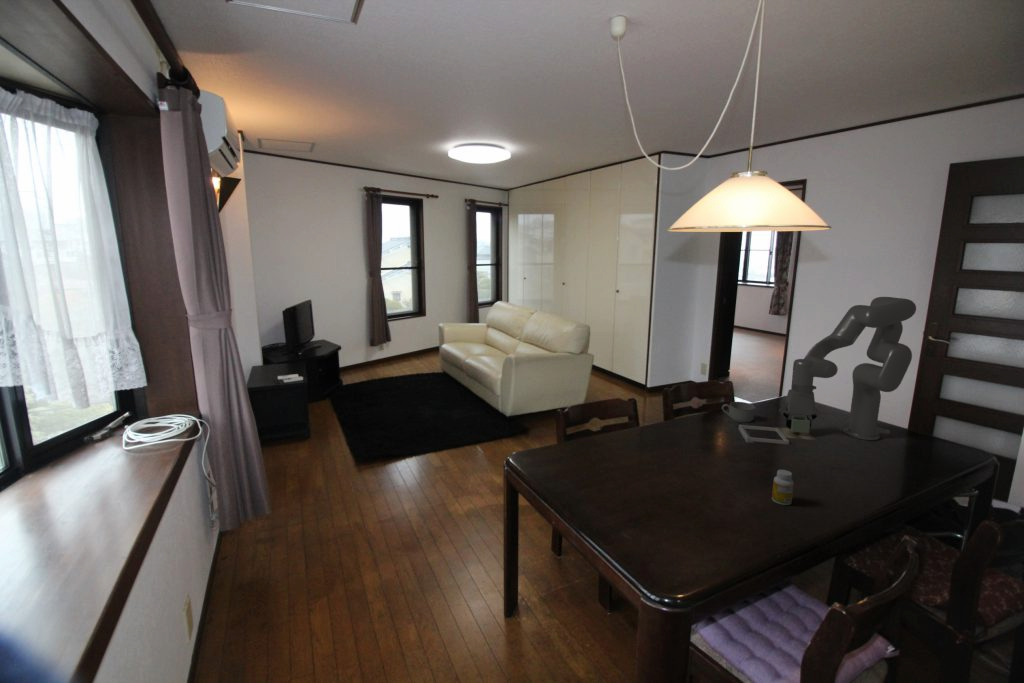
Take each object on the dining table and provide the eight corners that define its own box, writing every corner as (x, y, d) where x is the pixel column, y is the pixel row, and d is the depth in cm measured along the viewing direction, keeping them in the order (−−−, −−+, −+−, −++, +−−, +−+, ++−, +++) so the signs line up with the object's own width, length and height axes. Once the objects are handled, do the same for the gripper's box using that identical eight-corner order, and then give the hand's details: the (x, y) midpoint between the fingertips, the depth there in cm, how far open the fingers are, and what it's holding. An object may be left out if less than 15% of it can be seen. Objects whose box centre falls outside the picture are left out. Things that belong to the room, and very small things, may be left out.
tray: (777, 432, 199) (777, 427, 198) (788, 446, 184) (789, 441, 184) (738, 429, 203) (739, 424, 202) (746, 442, 188) (747, 437, 188)
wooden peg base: (806, 432, 200) (808, 418, 198) (816, 442, 188) (818, 427, 187) (776, 429, 203) (777, 415, 202) (784, 439, 191) (786, 424, 190)
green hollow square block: (803, 427, 197) (804, 416, 196) (809, 432, 191) (810, 421, 190) (787, 426, 199) (788, 415, 198) (792, 431, 193) (793, 420, 192)
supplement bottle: (773, 494, 146) (776, 466, 144) (792, 500, 143) (796, 471, 141) (770, 501, 142) (773, 472, 140) (789, 507, 139) (793, 478, 137)
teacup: (754, 420, 215) (756, 403, 213) (752, 427, 206) (754, 410, 204) (722, 414, 222) (724, 399, 221) (719, 421, 213) (720, 405, 212)
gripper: (821, 386, 193) (817, 426, 196) (776, 385, 198) (773, 423, 201) (828, 391, 186) (824, 433, 189) (781, 389, 190) (778, 430, 194)
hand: (798, 428), depth 195 cm, fingers closed on green hollow square block, 6 cm apart
